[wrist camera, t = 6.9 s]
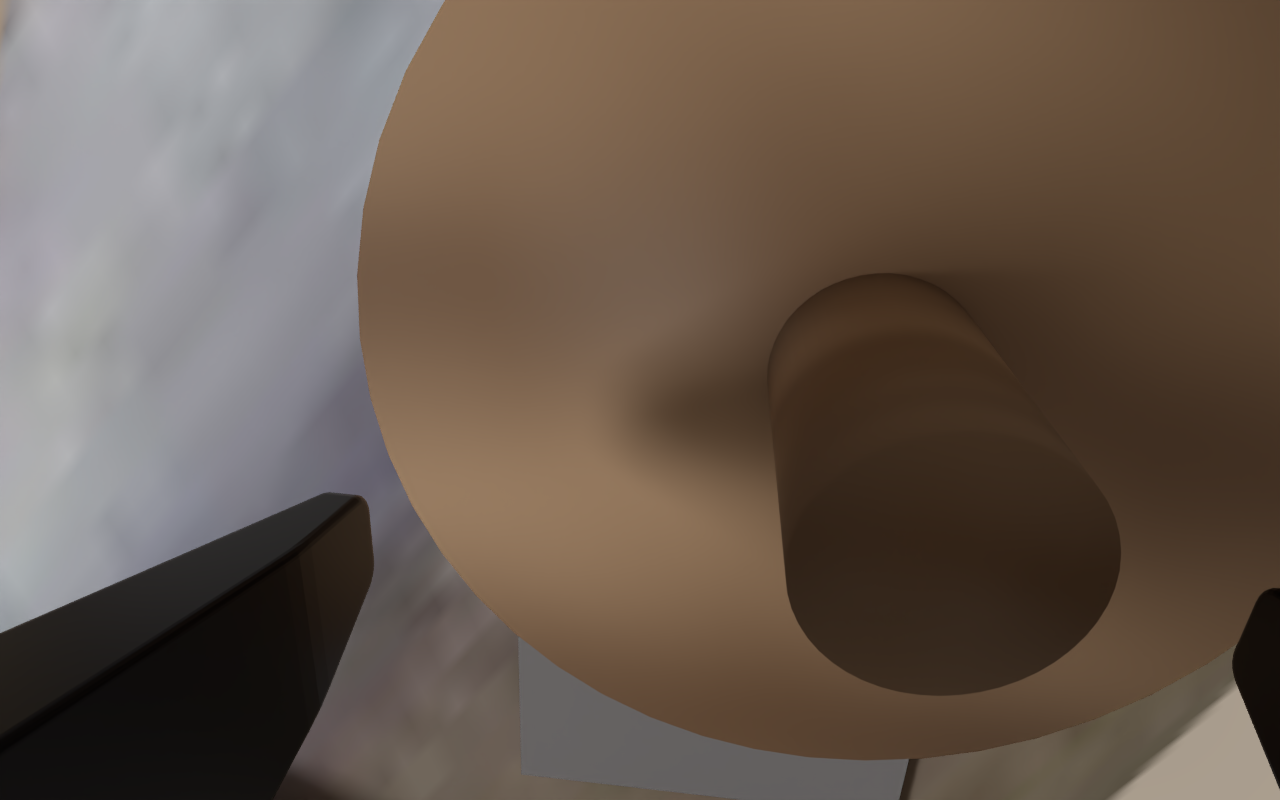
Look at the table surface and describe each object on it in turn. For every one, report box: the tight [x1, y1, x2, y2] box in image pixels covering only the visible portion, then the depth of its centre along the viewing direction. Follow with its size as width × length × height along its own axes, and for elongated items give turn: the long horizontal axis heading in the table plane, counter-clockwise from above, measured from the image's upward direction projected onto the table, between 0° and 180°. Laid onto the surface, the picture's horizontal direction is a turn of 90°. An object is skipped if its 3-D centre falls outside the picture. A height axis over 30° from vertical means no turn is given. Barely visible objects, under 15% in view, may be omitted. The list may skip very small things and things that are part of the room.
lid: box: [357, 0, 1280, 761], centre depth 9 cm, size 13×13×5 cm
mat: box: [518, 636, 909, 800], centre depth 25 cm, size 12×12×1 cm
